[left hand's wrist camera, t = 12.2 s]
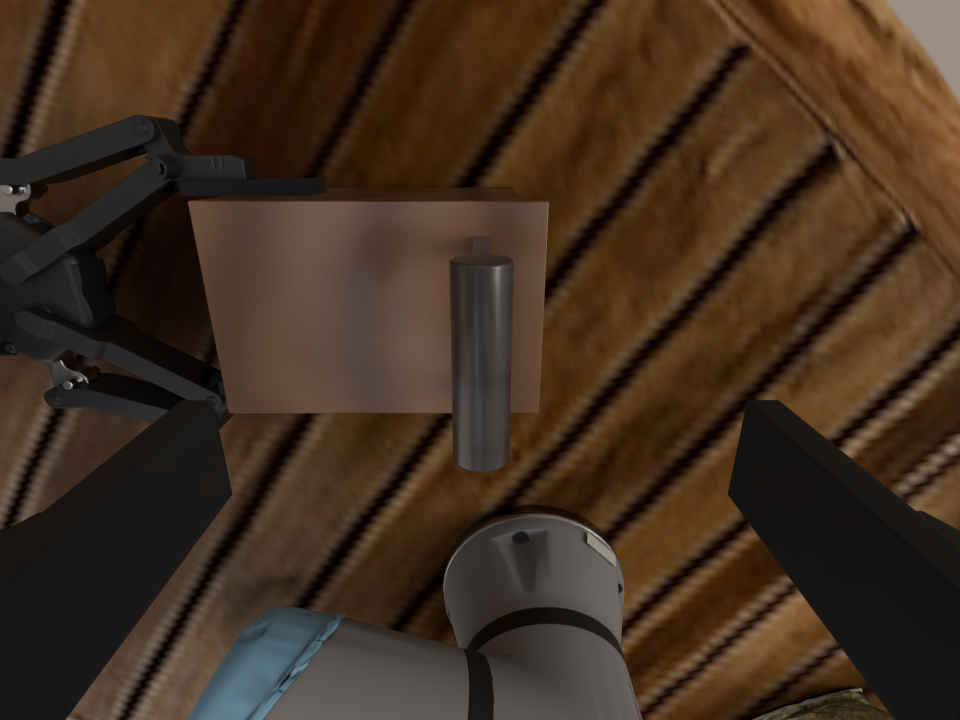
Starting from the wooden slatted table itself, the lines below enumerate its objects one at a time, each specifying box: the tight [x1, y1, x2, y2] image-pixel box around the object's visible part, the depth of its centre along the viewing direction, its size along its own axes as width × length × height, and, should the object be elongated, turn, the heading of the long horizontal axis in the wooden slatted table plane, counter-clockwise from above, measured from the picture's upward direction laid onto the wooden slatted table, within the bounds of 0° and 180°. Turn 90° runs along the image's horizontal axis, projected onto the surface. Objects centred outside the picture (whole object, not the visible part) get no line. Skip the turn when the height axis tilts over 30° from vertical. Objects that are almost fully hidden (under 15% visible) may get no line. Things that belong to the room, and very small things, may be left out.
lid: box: [188, 199, 549, 472], centre depth 21 cm, size 16×10×8 cm, turn 90°
